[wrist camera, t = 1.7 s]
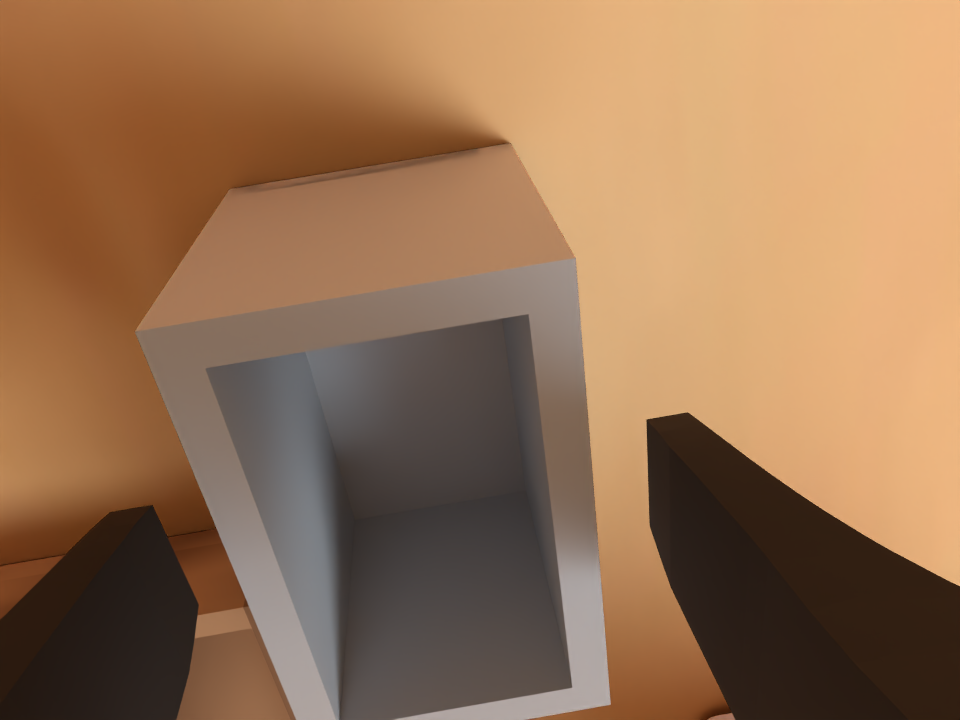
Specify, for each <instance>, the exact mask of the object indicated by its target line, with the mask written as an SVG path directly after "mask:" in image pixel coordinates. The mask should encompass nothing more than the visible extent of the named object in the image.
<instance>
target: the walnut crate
mask: <svg viewBox="0 0 960 720" xmlns="http://www.w3.org/2000/svg"><path fill="white" fill-rule="evenodd" d="M168 540H169V542H170V544H171V546H172V548H173V550H174V552H175V555H176V557H177V559H178V561H179V563H180V565H181V567H182V569H183V572H184V574H185V576H186V578H187V580H188V582H189V584H190V587H191V589H192V591H193V593H194V595H195V597H196V599H197V602H198V604H199V608H198V616H197V624H196V631H195V639H194V646H193V652H192V659H191V665H190V671H189V675H188V679H187V683H186V687H185V690H184V694H183V698H182V701H181V705H180V709H179V712H178V716H177V719H176V720H296V718H295V716H294V713H293V711H292V708H291V706H290V704H289V701H288V699H287V696H286V694H285V692H284V689H283V687H282V684H281V682H280V680H279V677H278V675H277V672H276V670H275V668H274V665H273V663H272V660H271V658H270V656H269V653H268V651H267V648H266V646H265V644H264V641H263V639H262V636H261V634H260V632H259V629H258V627H257V624H256V622H255V620H254V617H253V615H252V612H251V610H250V608H249V605H248V603H247V600H246V598H245V596H244V593H243V591H242V588H241V586H240V584H239V581H238V579H237V576H236V574H235V572H234V569H233V567H232V564H231V562H230V560H229V557H228V555H227V552H226V550H225V548H224V545H223V543H222V540H221V538H220V536H219V533H218V531H217V529H214V530H208V531H202V532H196V533H190V534H185V535H179V536H173V537H168ZM64 556H65V555H62V556H57V557H51V558H45V559H39V560H33V561H27V562H22V563H16V564H10V565H4V566H0V619H1V618H2V617H3V616H4V615H5V614H7V613H8V612H9V611H10V610H11V609H12V608H13V607H14V606H15V605H16V604H17V603H18V602H19V601H20V600H21V599H22V598H23V597H24V596H25V595H26V594H27V593H28V592H29V591H30V590H31V589H32V588H33V587H34V586H35V585H36V584H37V583H38V582H39V581H40V580H41V579H42V578H43V577H44V576H45V575H46V574H47V573H48V572H49V571H50V570H51V569H52V568H53V567H54V566H55V565H56V564H57V563H58V562H59V561H60V560H61V559H62V558H63V557H64Z"/></svg>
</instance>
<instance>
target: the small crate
mask: <svg viewBox="0 0 960 720" xmlns="http://www.w3.org/2000/svg"><path fill="white" fill-rule="evenodd" d="M135 334H136V336H137V339H138V341H139V343H140V346H141V348H142V351H143V353H144V355H145V358H146V360H147V363H148V365H149V367H150V370H151V372H152V375H153V377H154V379H155V382H156V384H157V387H158V389H159V391H160V394H161V396H162V399H163V401H164V403H165V406H166V408H167V411H168V413H169V415H170V418H171V420H172V423H173V425H174V427H175V430H176V432H177V435H178V437H179V439H180V442H181V444H182V447H183V449H184V451H185V454H186V456H187V459H188V461H189V463H190V466H191V468H192V471H193V473H194V475H195V478H196V480H197V483H198V485H199V487H200V490H201V492H202V495H203V497H204V499H205V502H206V504H207V507H208V509H209V511H210V514H211V516H212V519H213V521H214V524H215V526H216V528H217V531H218V533H219V536H220V538H221V540H222V543H223V545H224V548H225V550H226V552H227V555H228V557H229V560H230V562H231V564H232V567H233V569H234V572H235V574H236V576H237V579H238V581H239V584H240V586H241V588H242V591H243V593H244V596H245V598H246V600H247V603H248V605H249V608H250V610H251V612H252V615H253V617H254V620H255V622H256V624H257V627H258V629H259V632H260V634H261V636H262V639H263V641H264V644H265V646H266V648H267V651H268V653H269V656H270V658H271V660H272V663H273V665H274V668H275V670H276V672H277V675H278V677H279V680H280V682H281V684H282V687H283V689H284V692H285V694H286V696H287V699H288V701H289V704H290V706H291V708H292V711H293V713H294V716H295V718H296V720H527V719H533V718H539V717H544V716H550V715H556V714H561V713H567V712H573V711H578V710H584V709H589V708H595V707H601V706H606V705H611V701H610V689H609V676H608V663H607V651H606V638H605V625H604V613H603V600H602V587H601V575H600V562H599V549H598V537H597V524H596V511H595V499H594V486H593V473H592V461H591V448H590V435H589V423H588V410H587V397H586V385H585V372H584V359H583V347H582V334H581V321H580V309H579V296H578V283H577V271H576V258H575V256H574V254H573V253H572V251H571V249H570V247H569V246H568V244H567V242H566V240H565V238H564V237H563V235H562V233H561V231H560V230H559V228H558V226H557V224H556V222H555V221H554V219H553V217H552V215H551V214H550V212H549V210H548V208H547V207H546V205H545V203H544V201H543V199H542V198H541V196H540V194H539V192H538V191H537V189H536V187H535V185H534V184H533V182H532V180H531V178H530V176H529V175H528V173H527V171H526V169H525V168H524V166H523V164H522V162H521V160H520V159H519V157H518V155H517V153H516V152H515V150H514V148H513V146H512V145H511V143H508V144H502V145H495V146H489V147H483V148H477V149H471V150H465V151H459V152H453V153H447V154H441V155H434V156H428V157H422V158H416V159H410V160H404V161H398V162H392V163H386V164H380V165H374V166H367V167H361V168H355V169H349V170H343V171H337V172H331V173H325V174H319V175H313V176H306V177H300V178H294V179H288V180H282V181H276V182H270V183H264V184H258V185H252V186H246V187H239V188H233V189H229V191H228V192H227V194H226V195H225V197H224V198H223V200H222V201H221V203H220V204H219V206H218V207H217V209H216V210H215V212H214V213H213V215H212V216H211V218H210V219H209V221H208V222H207V224H206V225H205V227H204V228H203V230H202V231H201V233H200V234H199V236H198V237H197V239H196V240H195V242H194V243H193V245H192V246H191V248H190V249H189V251H188V252H187V254H186V255H185V257H184V258H183V260H182V261H181V263H180V264H179V266H178V267H177V269H176V270H175V272H174V273H173V275H172V276H171V278H170V279H169V281H168V282H167V284H166V285H165V287H164V288H163V290H162V291H161V293H160V294H159V296H158V297H157V299H156V300H155V302H154V303H153V305H152V306H151V308H150V309H149V311H148V312H147V314H146V315H145V317H144V318H143V320H142V321H141V323H140V324H139V326H138V327H137V329H136V330H135Z"/></svg>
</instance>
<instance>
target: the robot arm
mask: <svg viewBox="0 0 960 720" xmlns="http://www.w3.org/2000/svg"><path fill="white" fill-rule="evenodd" d="M647 451H648V485H649V518H650V528H651V531H652V534H653V537H654V540H655V543H656V546H657V549H658V552H659V555H660V558H661V560H662V563H663V566H664V569H665V572H666V575H667V577H668V580H669V583H670V586H671V588H672V590H673V592H674V595H675V597H676V599H677V601H678V603H679V605H680V607H681V609H682V611H683V613H684V615H685V618H686V620H687V622H688V624H689V626H690V628H691V630H692V632H693V634H694V636H695V638H696V640H697V642H698V644H699V646H700V649H701V651H702V653H703V655H704V657H705V659H706V661H707V663H708V665H709V667H710V669H711V671H712V673H713V675H714V677H715V679H716V681H717V683H718V685H719V687H720V689H721V691H722V694H723V696H724V698H725V700H726V702H727V704H728V706H729V708H730V710H731V712H732V713H728V714H722V715H717V716H714V717H711V718H709V719H707V720H960V586H958V585H956V584H954V583H951V582H949V581H947V580H945V579H943V578H942V577H940V576H938V575H936V574H934V573H932V572H930V571H928V570H926V569H925V568H923V567H921V566H919V565H917V564H915V563H913V562H911V561H909V560H907V559H906V558H904V557H902V556H900V555H898V554H896V553H894V552H892V551H891V550H889V549H887V548H885V547H884V546H882V545H880V544H878V543H876V542H875V541H873V540H871V539H870V538H868V537H866V536H864V535H863V534H861V533H860V532H858V531H856V530H855V529H853V528H851V527H850V526H848V525H847V524H845V523H843V522H842V521H840V520H838V519H837V518H835V517H834V516H832V515H830V514H829V513H827V512H826V511H824V510H822V509H821V508H819V507H818V506H816V505H815V504H813V503H812V502H810V501H809V500H807V499H806V498H804V497H803V496H801V495H800V494H798V493H797V492H795V491H794V490H792V489H791V488H790V487H788V486H787V485H785V484H784V483H782V482H781V481H780V480H778V479H777V478H775V477H774V476H772V475H771V474H770V473H768V472H767V471H765V470H764V469H763V468H761V467H760V466H759V465H757V464H756V463H754V462H753V461H752V460H750V459H749V458H748V457H746V456H745V455H744V454H742V453H741V452H740V451H738V450H737V449H736V448H734V447H733V446H732V445H730V444H729V443H728V442H727V441H725V440H724V439H723V438H721V437H720V436H719V435H717V434H716V433H715V432H713V431H712V430H711V429H709V428H708V427H707V426H705V425H704V424H703V423H701V422H700V421H699V420H697V419H696V418H695V417H693V416H692V415H691V414H689V413H682V414H676V415H670V416H664V417H659V418H653V419H647ZM198 608H199V604H198V602H197V599H196V597H195V595H194V593H193V591H192V589H191V587H190V584H189V582H188V580H187V578H186V576H185V574H184V572H183V569H182V567H181V565H180V563H179V561H178V559H177V557H176V555H175V552H174V550H173V548H172V546H171V544H170V542H169V540H168V537H167V535H166V533H165V531H164V529H163V527H162V525H161V522H160V520H159V518H158V516H157V514H156V512H155V510H154V507H153V505H150V506H144V507H138V508H132V509H127V510H121V511H115V512H110V513H109V514H108V515H107V516H105V517H104V518H103V519H102V520H101V521H100V522H99V523H98V524H97V525H95V526H94V527H93V528H92V529H91V530H90V531H89V532H88V533H87V534H86V535H85V536H84V537H83V538H82V539H81V540H80V541H79V542H78V543H77V544H76V545H75V546H74V547H73V548H72V549H71V550H70V551H69V552H68V553H67V554H66V555H65V556H64V557H63V558H62V559H61V560H60V561H59V562H58V563H57V564H56V565H55V566H54V567H53V568H52V569H51V570H50V571H49V572H48V573H47V574H46V575H45V576H44V577H43V578H42V579H41V580H40V581H39V582H38V583H37V584H36V585H35V586H34V587H33V588H32V589H31V590H30V591H29V592H28V593H27V594H26V595H25V596H24V597H23V598H22V599H21V600H20V601H19V602H18V603H17V604H16V605H15V606H14V607H13V608H12V609H11V610H10V611H9V612H8V613H7V614H5V615H4V616H3V617H2V618H1V619H0V720H176V719H177V716H178V712H179V709H180V705H181V701H182V698H183V694H184V690H185V687H186V683H187V679H188V675H189V671H190V665H191V659H192V652H193V646H194V639H195V631H196V624H197V616H198Z"/></svg>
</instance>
